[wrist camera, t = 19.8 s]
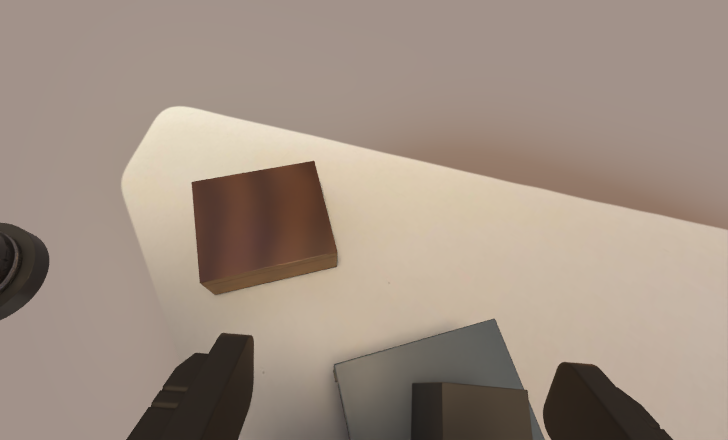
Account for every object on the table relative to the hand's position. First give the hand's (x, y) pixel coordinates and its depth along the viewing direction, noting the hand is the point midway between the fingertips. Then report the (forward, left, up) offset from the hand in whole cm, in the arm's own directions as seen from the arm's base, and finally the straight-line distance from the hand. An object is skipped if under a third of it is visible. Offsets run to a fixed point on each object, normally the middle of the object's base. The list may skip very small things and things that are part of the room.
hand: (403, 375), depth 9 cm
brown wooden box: (-5, +19, -30) cm, 36 cm away
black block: (+6, -4, -19) cm, 21 cm away
